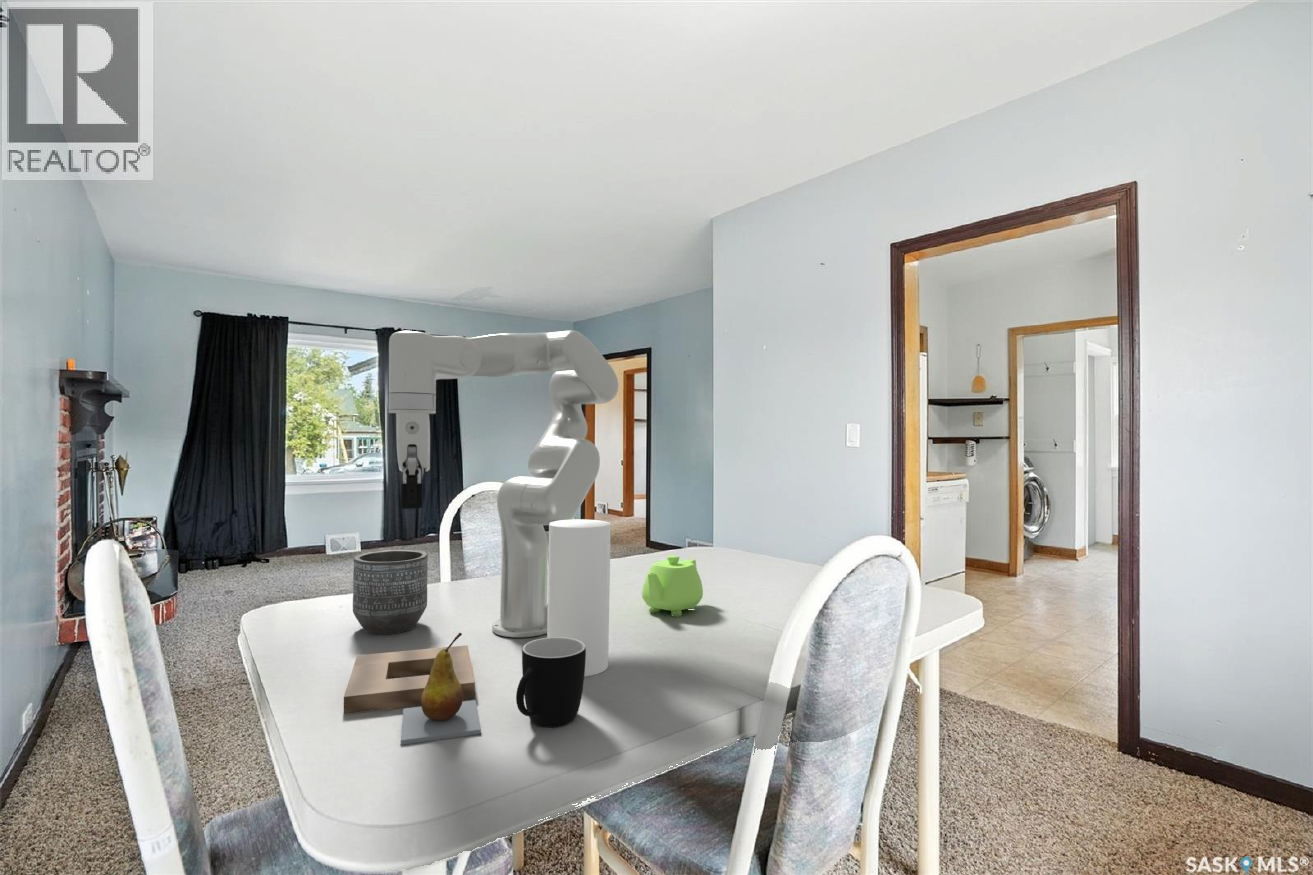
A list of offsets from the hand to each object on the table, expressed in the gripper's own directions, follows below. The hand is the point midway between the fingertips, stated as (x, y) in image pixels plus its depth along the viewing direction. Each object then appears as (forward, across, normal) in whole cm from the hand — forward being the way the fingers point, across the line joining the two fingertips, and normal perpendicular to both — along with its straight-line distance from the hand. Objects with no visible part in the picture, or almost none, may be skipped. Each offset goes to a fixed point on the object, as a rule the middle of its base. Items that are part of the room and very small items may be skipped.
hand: (411, 504), depth 109 cm
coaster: (+28, -24, -4) cm, 37 cm away
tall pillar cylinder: (+28, -8, -27) cm, 40 cm away
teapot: (+29, +20, -57) cm, 67 cm away
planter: (+28, +26, +4) cm, 38 cm away
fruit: (+27, -23, -4) cm, 36 cm away
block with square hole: (+28, -8, 0) cm, 29 cm away
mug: (+28, -28, -18) cm, 44 cm away
